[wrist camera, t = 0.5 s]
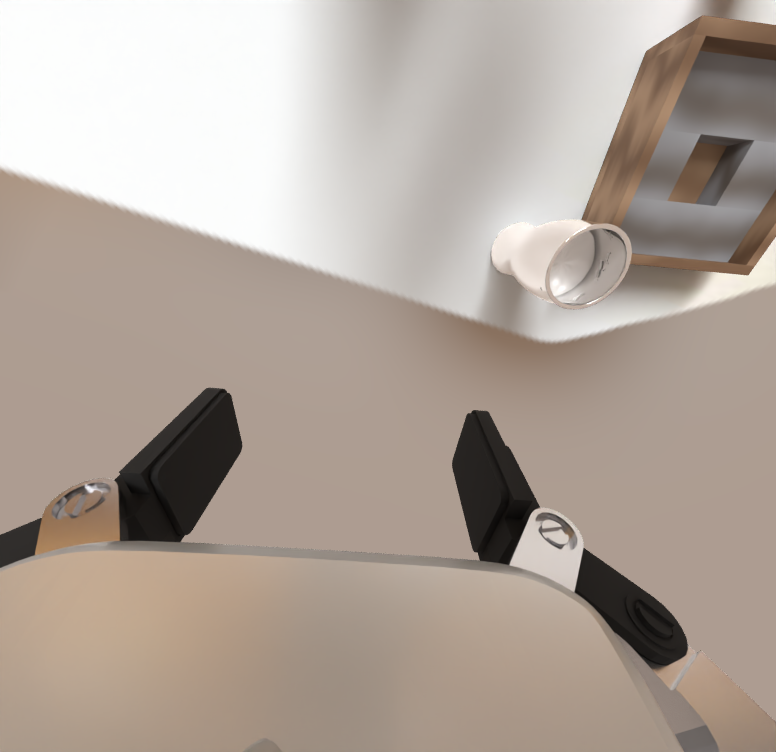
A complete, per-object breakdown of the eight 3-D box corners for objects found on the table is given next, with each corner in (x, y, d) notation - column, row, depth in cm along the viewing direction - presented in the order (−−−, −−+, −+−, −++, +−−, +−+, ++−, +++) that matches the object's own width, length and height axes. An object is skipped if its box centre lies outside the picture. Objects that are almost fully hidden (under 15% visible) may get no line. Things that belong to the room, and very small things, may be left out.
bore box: (646, 51, 26) (702, 15, 22) (821, 73, 27) (913, 43, 22) (568, 254, 35) (595, 260, 31) (701, 267, 36) (748, 275, 31)
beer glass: (543, 210, 33) (643, 207, 20) (542, 269, 36) (627, 300, 23) (484, 227, 34) (543, 235, 21) (489, 283, 37) (542, 320, 24)
